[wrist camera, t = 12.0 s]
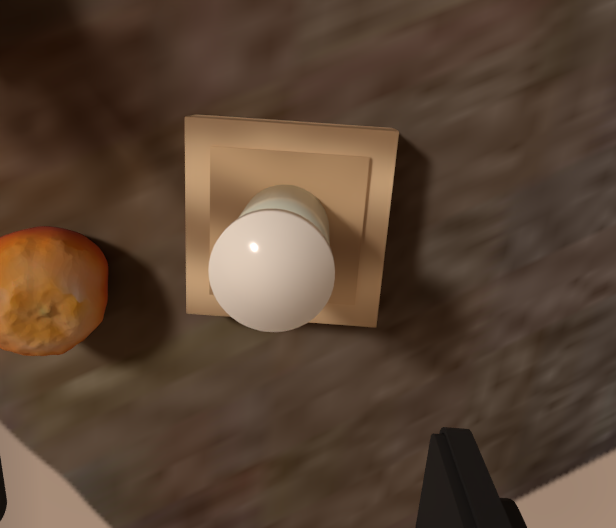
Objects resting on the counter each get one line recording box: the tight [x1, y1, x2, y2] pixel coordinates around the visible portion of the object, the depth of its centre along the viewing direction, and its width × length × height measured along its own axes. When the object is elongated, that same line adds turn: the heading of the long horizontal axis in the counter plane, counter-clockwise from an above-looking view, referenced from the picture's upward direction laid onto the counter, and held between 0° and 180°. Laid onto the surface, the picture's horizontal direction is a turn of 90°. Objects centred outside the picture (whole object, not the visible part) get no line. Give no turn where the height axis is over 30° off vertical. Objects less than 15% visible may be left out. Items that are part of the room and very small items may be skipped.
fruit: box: [0, 226, 108, 356], centre depth 33 cm, size 8×8×8 cm
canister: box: [208, 185, 335, 332], centre depth 27 cm, size 6×6×8 cm
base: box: [185, 115, 399, 327], centre depth 32 cm, size 12×12×3 cm
